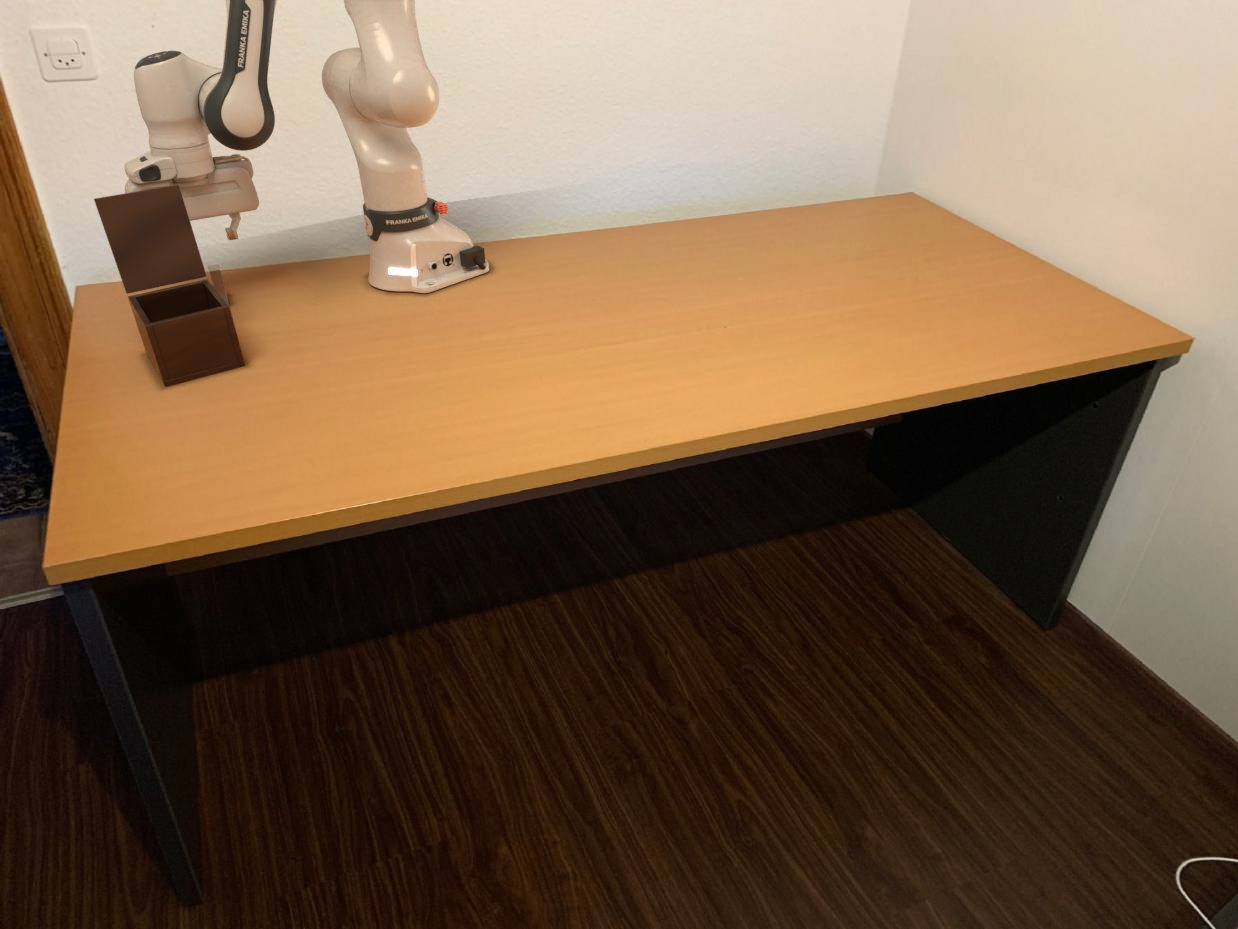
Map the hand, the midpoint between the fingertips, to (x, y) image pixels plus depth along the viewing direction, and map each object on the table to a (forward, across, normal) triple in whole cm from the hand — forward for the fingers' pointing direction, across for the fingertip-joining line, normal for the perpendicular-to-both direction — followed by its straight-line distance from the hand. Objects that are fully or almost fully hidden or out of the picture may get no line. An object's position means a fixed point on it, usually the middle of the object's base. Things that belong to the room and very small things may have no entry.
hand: (204, 243), depth 156 cm
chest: (+11, +9, +20) cm, 25 cm away
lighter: (+11, -1, 0) cm, 11 cm away
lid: (-6, +9, +13) cm, 17 cm away
